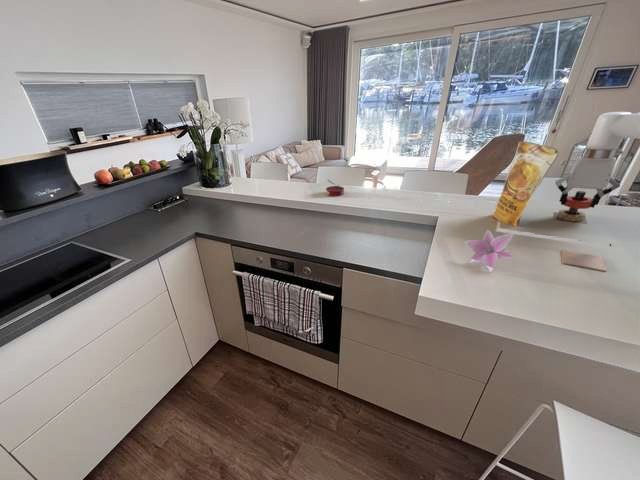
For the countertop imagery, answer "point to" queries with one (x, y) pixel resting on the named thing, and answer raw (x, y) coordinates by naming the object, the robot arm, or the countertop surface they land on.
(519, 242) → the countertop surface
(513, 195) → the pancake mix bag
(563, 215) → the bottom ring
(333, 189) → the red bowl with spoon
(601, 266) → the cork mat
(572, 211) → the post stand
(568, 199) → the top ring
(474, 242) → the lily
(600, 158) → the robot arm
